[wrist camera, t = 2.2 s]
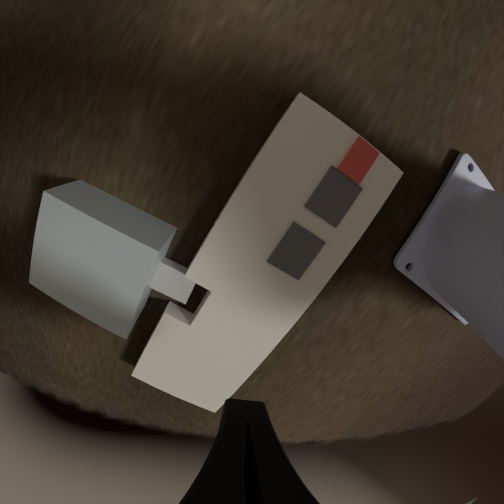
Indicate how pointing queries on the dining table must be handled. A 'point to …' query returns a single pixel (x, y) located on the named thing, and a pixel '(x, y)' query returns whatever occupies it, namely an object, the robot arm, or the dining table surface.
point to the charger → (103, 256)
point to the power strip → (269, 254)
